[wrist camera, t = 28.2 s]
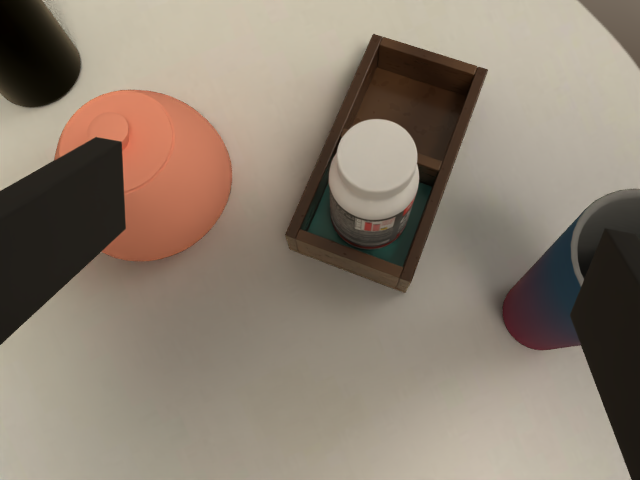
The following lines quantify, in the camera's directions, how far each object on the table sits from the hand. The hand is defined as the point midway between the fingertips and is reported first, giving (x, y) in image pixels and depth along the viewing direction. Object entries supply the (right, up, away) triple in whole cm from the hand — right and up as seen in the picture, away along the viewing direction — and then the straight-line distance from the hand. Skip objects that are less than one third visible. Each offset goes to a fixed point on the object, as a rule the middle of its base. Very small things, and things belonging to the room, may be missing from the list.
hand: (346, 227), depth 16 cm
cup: (+15, -6, +25) cm, 29 cm away
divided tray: (+4, +5, +28) cm, 29 cm away
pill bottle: (+3, +2, +27) cm, 27 cm away
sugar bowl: (-14, +3, +28) cm, 32 cm away
